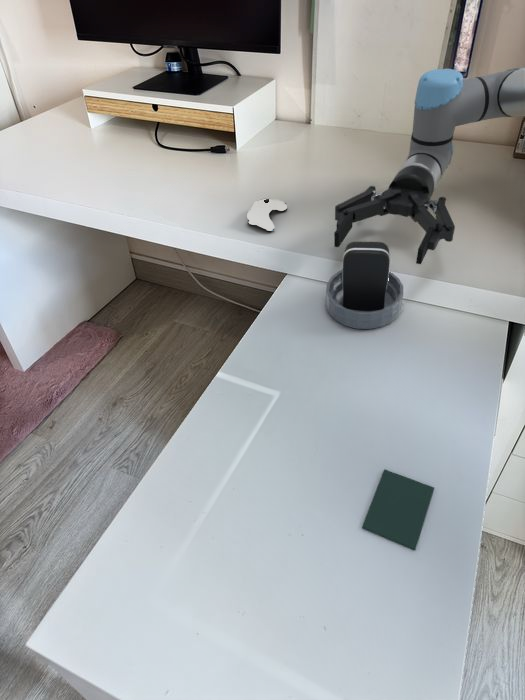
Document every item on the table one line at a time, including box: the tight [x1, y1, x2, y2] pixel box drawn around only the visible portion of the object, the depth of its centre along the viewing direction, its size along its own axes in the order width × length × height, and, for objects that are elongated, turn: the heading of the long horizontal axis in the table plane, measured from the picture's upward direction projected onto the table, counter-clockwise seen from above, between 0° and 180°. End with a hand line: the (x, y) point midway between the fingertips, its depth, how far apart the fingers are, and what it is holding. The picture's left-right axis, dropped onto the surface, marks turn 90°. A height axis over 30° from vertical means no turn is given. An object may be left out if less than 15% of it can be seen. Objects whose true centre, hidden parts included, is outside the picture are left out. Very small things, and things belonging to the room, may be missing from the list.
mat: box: [361, 468, 435, 551], centre depth 58 cm, size 6×8×1 cm
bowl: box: [325, 269, 404, 330], centre depth 81 cm, size 12×12×4 cm
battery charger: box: [341, 241, 391, 310], centre depth 78 cm, size 7×4×11 cm, turn 79°
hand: (376, 248), depth 80 cm, fingers open, 13 cm apart
